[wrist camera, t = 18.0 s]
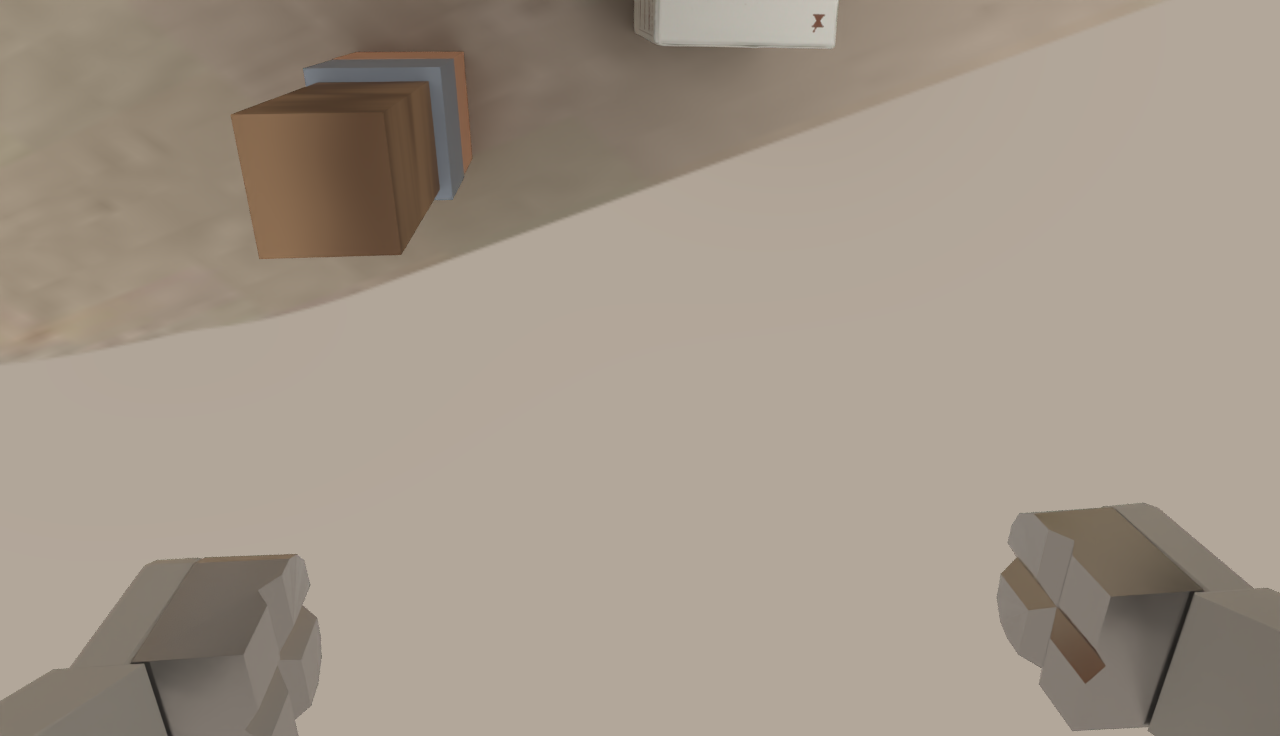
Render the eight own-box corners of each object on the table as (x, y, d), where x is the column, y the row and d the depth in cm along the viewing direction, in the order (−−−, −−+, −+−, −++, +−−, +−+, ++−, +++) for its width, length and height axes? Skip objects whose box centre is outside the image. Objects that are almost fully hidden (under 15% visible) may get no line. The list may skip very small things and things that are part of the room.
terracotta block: (369, 159, 45) (349, 178, 41) (355, 52, 43) (331, 59, 38) (472, 158, 46) (463, 176, 41) (463, 51, 43) (452, 58, 39)
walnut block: (334, 191, 36) (259, 258, 27) (317, 82, 34) (230, 114, 25) (440, 189, 36) (401, 254, 27) (428, 80, 34) (383, 112, 25)
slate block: (350, 179, 41) (324, 202, 36) (333, 59, 38) (303, 68, 34) (464, 176, 41) (452, 199, 36) (453, 58, 39) (440, 67, 34)
